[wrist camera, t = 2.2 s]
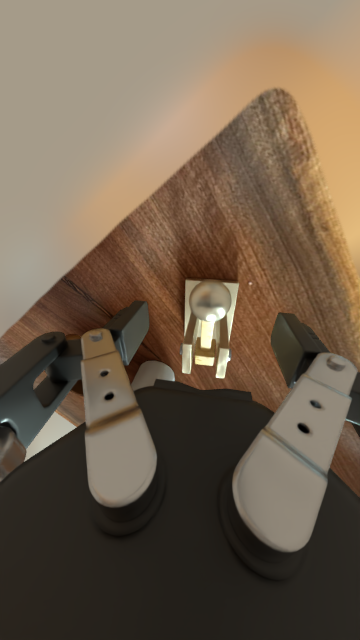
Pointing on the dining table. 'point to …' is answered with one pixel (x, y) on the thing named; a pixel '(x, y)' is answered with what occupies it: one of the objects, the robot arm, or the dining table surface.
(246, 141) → the dining table surface
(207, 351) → the switch lever
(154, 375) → the cup
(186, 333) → the switch bracket
